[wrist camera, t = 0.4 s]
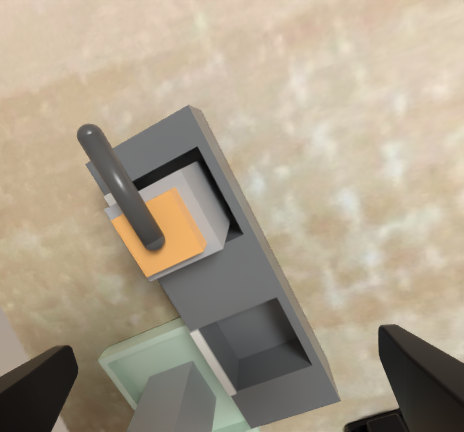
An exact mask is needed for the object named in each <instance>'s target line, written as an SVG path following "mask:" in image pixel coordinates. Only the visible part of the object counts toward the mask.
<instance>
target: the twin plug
mask: <svg viewBox="0 0 464 432" xmlns="http://www.w3.org/2000/svg"><path fill="white" fill-rule="evenodd" d="M77 138H78V141H79V143H80V144H81V146H82V148H83V149H84V151H85V152H86V154H87V156H88V157H89V159H90V160H91V162H92V164H93V165H94V167H95V168H96V170H97V172H98V173H99V175H100V177H101V178H102V180H103V181H104V183H105V185H106V186H107V188H108V189H109V191H110V193H111V194H112V196H113V197H114V199H115V201H116V202H117V203H115V204H113V205H112V206H110V207H108V208H106V209H104V211H105V212H106V214H107V215H108V217H109V218H110V220H111V222H112V224H113V225H114V227H115V229H116V230H117V232H118V233H119V235H120V236H121V238H122V240H123V241H124V243H125V244H126V246H127V247H128V249H129V251H130V252H131V254H132V255H133V257H134V258H135V260H136V262H137V263H138V265H139V266H140V268H141V269H142V271H143V273H144V274H145V276H146V277H147V278H148V280H149V281H150V282H151V281H153V280H155V279H157V278H160V277H162V276H164V275H166V274H168V273H171V272H173V271H175V270H177V269H179V268H182V267H184V266H186V265H188V264H191V263H193V262H195V261H197V260H199V259H202V258H204V257H206V256H208V255H210V254H213V253H215V252H217V251H219V250H221V249H223V248H224V244H225V240H226V236H227V232H228V228H229V225H230V221H231V217H232V215H231V213H230V211H229V209H228V207H227V205H226V204H225V202H224V200H223V198H222V196H221V194H220V192H219V190H218V188H217V186H216V185H215V183H214V181H213V179H212V177H211V175H210V173H209V171H208V169H207V167H206V166H205V164H204V162H203V160H202V159H200V160H198V161H196V162H194V163H192V164H190V165H188V166H186V167H184V168H182V169H180V170H178V171H176V172H174V173H172V174H170V175H168V176H166V177H165V178H163V179H161V180H159V181H157V182H155V183H153V184H151V185H149V186H148V187H146V188H144V189H142V190H140V191H138V190H137V189H136V187H135V185H134V184H133V182H132V180H131V179H130V177H129V175H128V174H127V172H126V170H125V169H124V167H123V165H122V164H121V162H120V160H119V158H118V157H117V155H116V153H115V152H114V150H113V148H112V147H111V145H110V143H109V142H108V140H107V138H106V137H105V135H104V133H103V132H102V130H101V129H100V128H99V127H98V126H96V125H94V124H85V125H82V126H81V127H80V128H79V129H78V131H77Z"/></svg>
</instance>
